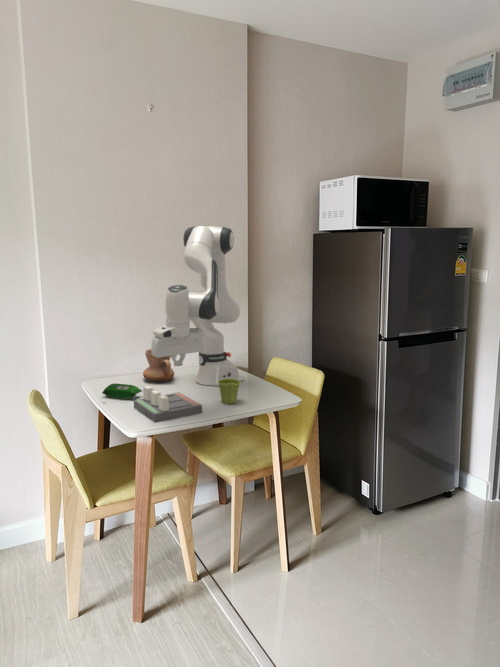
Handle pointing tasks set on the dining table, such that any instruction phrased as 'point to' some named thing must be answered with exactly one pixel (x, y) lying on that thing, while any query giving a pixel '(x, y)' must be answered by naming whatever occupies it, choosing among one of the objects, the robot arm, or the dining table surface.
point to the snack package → (121, 391)
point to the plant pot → (229, 390)
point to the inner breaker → (147, 393)
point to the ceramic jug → (158, 368)
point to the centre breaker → (155, 397)
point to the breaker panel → (177, 407)
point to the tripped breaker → (163, 403)
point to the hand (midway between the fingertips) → (178, 365)
